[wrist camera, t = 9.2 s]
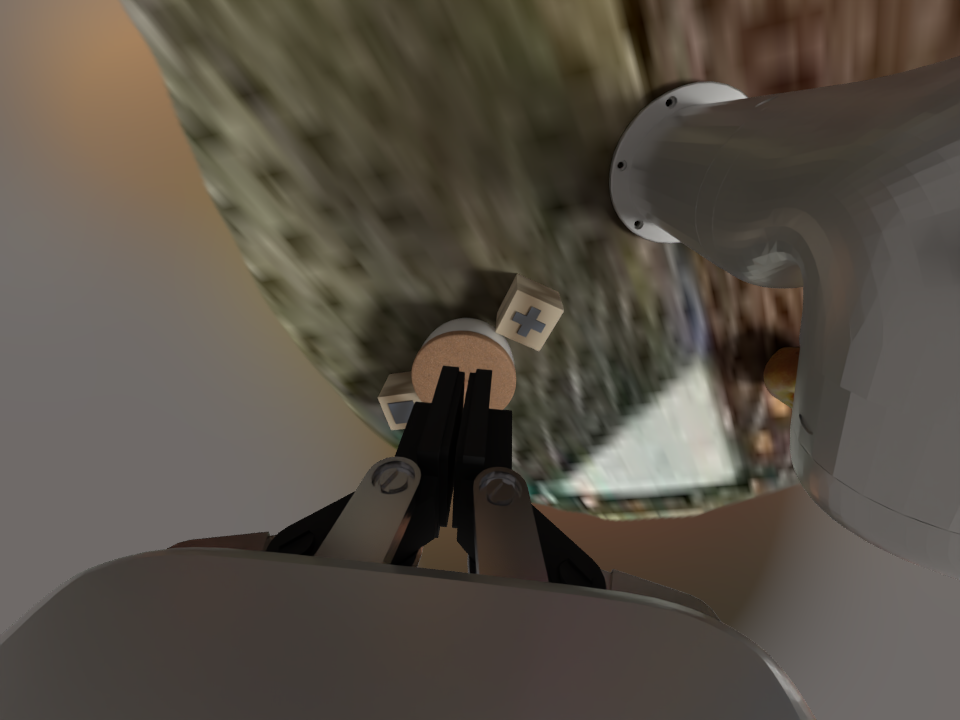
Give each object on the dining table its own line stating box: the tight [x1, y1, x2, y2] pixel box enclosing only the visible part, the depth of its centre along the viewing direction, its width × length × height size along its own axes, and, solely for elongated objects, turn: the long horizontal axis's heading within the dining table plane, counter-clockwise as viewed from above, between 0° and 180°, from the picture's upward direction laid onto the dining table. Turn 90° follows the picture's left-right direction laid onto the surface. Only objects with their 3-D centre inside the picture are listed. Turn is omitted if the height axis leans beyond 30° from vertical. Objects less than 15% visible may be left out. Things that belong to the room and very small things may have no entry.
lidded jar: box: [411, 318, 516, 410], centre depth 41 cm, size 11×11×9 cm
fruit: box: [764, 347, 800, 408], centre depth 40 cm, size 8×8×8 cm
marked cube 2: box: [495, 273, 564, 351], centre depth 40 cm, size 5×5×5 cm
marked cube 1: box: [378, 371, 422, 430], centre depth 47 cm, size 5×5×5 cm
